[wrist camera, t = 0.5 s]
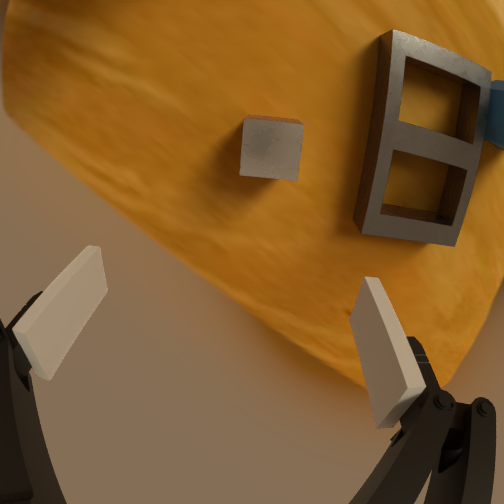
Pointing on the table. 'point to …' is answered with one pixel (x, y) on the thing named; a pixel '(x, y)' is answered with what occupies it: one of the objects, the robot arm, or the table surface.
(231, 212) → the table surface
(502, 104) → the water bottle
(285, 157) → the brushed gray brick
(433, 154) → the grey compartment tray
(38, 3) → the table surface
